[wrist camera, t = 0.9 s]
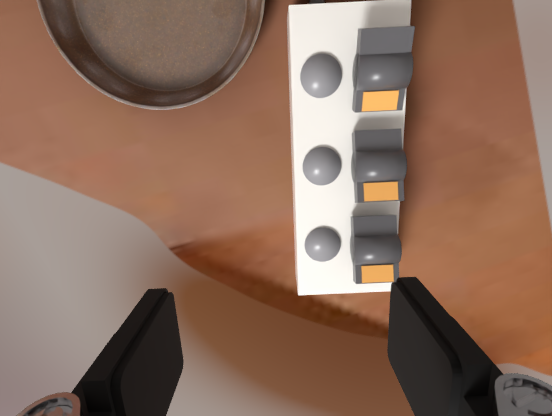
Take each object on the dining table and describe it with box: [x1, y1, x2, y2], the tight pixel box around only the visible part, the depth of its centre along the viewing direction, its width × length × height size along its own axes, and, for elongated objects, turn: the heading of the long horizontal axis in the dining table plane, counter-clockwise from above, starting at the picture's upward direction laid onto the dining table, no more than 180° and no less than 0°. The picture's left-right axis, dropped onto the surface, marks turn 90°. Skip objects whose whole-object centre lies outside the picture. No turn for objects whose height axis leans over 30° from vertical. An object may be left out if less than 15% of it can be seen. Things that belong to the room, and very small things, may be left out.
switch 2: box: [350, 215, 402, 284], centre depth 28 cm, size 6×4×3 cm, turn 3°
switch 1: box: [352, 26, 415, 113], centre depth 24 cm, size 6×4×3 cm, turn 3°
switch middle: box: [351, 128, 407, 203], centre depth 26 cm, size 6×4×3 cm, turn 3°
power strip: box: [287, 0, 411, 295], centre depth 28 cm, size 32×9×4 cm, turn 3°
